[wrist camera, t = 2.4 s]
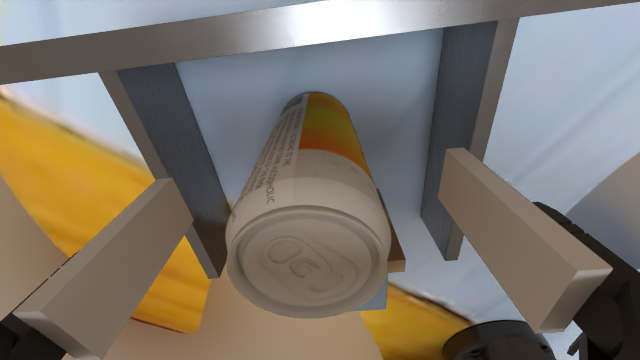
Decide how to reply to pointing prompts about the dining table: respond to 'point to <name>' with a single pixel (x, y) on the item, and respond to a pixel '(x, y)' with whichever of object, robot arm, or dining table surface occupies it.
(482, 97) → the grey open frame
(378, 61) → the dining table surface
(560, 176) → the dining table surface
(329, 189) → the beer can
